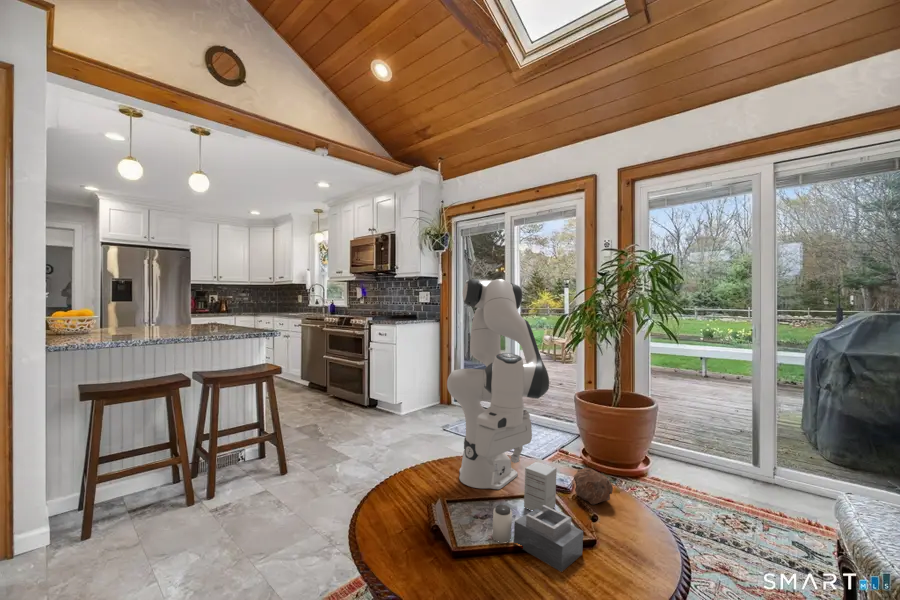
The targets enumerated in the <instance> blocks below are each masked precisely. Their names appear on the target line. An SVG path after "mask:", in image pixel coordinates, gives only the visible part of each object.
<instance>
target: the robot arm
mask: <svg viewBox="0 0 900 600" xmlns="http://www.w3.org/2000/svg"><path fill="white" fill-rule="evenodd" d="M462 298H463V302H464V304H465V305H466V306H468V307H471V308H476V309H475V311H474V313H473V317H472V323H471V330H470V342H469V343H470V345H469V351H470V355H471V356H472V357H473V358H474V359H476V360H477V361H478V362H481V363H483V364H484V366H485V368H483V369H479V368H478V369H477V368H459V369H453V370H452V371H451V372H450V374H449V375H448V377H447V381H446V387H447V391H448V393H449V394H450V396H451V397H452V398H453V399H455V400H456V401H457V403H458V404H459V405H460V406H461V409H462V411H463V414H464V419H465V437H464V439H463V452H462V459H461V460H462V461H461V465H460V466H461V467H460V468H459V481H460V482H461V483H462V484H463V485H466V486H468V487H471V488H476V489H492V490H501V489H502V488H504V487H505V486H506V485H507V484H509V483H510V482H512V481H513V480H514V479H515V478H517V477H518V476H519V474H518V472H517V470H515V469H514V468H512V463H514V464H516V463H519V462H520V456H521V454H522V453H523V452H522V451H523V449H524V448H523V447H524V446H526V445H528V444H530V443H531V441H532V439H533V433H532V432H533V428H532V420H531V417H530V412H529V411H527V410H526V409H524V407H525V406H524V399H523V398H525V397H526V398H528V399H529V398H530V399H539V398H541V397H543V395H545V394H546V393H547V392H548V391H549V389H550V377H549V373H548V370H547V367H546V366H545V364H544V362H543V358H542V356H541V353H540V350H539V347H538V344H537V341H536V338H535V335H534V333H533V329H532V326H531V325H530V323H529V321H528V320H527V319H525V318H523V317H522V315H521V313H519V311H518V309H520V308H521V305H522V302H523V290H522V288H521V286H519V285H518V284H515V283H513V282H512V283H510V282H509V281H507V280H505V279H503V278H499V279H498V278H496V279H492V280H491V279H478V278H470V279H469V280H467V281H466V282H465V284H464V286H463V289H462ZM501 336H503V337H506V338H508V339H511V340H513V341H515V342H516V343H518V344H519V345H520V346H521V350H522V353H523V356H524V359H525V360H523V358H522V357H521V356H520V355H518V354H515V353H513V352H511V353H510V352H502V351H501ZM524 361H525V362H524ZM481 402H490V406H489V407H487V408H485V407H483V405H482V404H481ZM512 450H513V453H512V455H511V454H510V457H509V456H508V455H507V453H506V452H510V451H512Z"/></svg>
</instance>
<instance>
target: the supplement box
mask: <svg viewBox="0 0 900 600" xmlns="http://www.w3.org/2000/svg"><path fill="white" fill-rule="evenodd" d="M524 474H525V475H524V492H523V493H524V496H523V508H524V507H525V508H528V509H530V510H535V509H538V510H541V511H542V506H543V505H545V506H547V507H550V508H552V509H553V508H554V507H555V508H556V498H557V496H556V493H557V492H556V491H557V467H554V466H552V465H549V464H546V463H542V462H540V461H535V462H533V463H531V464H529V465H528V466H526V467H525V470H524ZM525 508H524V509H525ZM555 508H554V509H555Z"/></svg>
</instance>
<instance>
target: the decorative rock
mask: <svg viewBox="0 0 900 600" xmlns="http://www.w3.org/2000/svg"><path fill="white" fill-rule="evenodd" d="M573 481H574V483H575V489H574V492H575V494H576V495H577V496H578V497H580V498H581V499H582V500H584V501H587V502H588V503H590V505H598V503H602V502H609V501H610V499H611V495H612V494H613V490H614V488H613V487H614V486H613V484H612V483H611V482H612V481H610V480H609V479H608V477H607V476H606V475H604V474H602V473H600V472H598V471H597V470H595V469H593V468H590V467H584V468H582V469H577V472H576V473H575V474H574V476H573Z"/></svg>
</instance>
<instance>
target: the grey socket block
mask: <svg viewBox="0 0 900 600" xmlns="http://www.w3.org/2000/svg"><path fill="white" fill-rule="evenodd" d="M513 529H514V530H513V544H514V543H518V544H520V545H522V546H523V549H522V550H523V551H524V552H527V554H530V555H532V556H534V557H535V558H537V559H538V560H540V561H541V562H543V563H545V564H547V565H549V566H550V567H552V568H554V569H556V570H557V571H559V572H560V573H563V571H565V570H566V569H567V568H568V567H570V566H571V565H572V564H574V562H575V561H576V560H578V559H579V558H580V557H582V556H583V548H584V547H583V545H584V544H583V542H584V530H582V529H580V528H579V527H578V528H577V527H576V526H574V525H572V517H571V516H568V515H567V514H565V513H562V512H560V511H558V510H556V509H555V508H554V509H552V508H550V507H547V506H545V505H543V506H542V511H541V510H538V509H535V510H533V511H529V512H528V513H526V514H524V515H523V516H521V517H520V518H518V519H516V520H514V526H513Z"/></svg>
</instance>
